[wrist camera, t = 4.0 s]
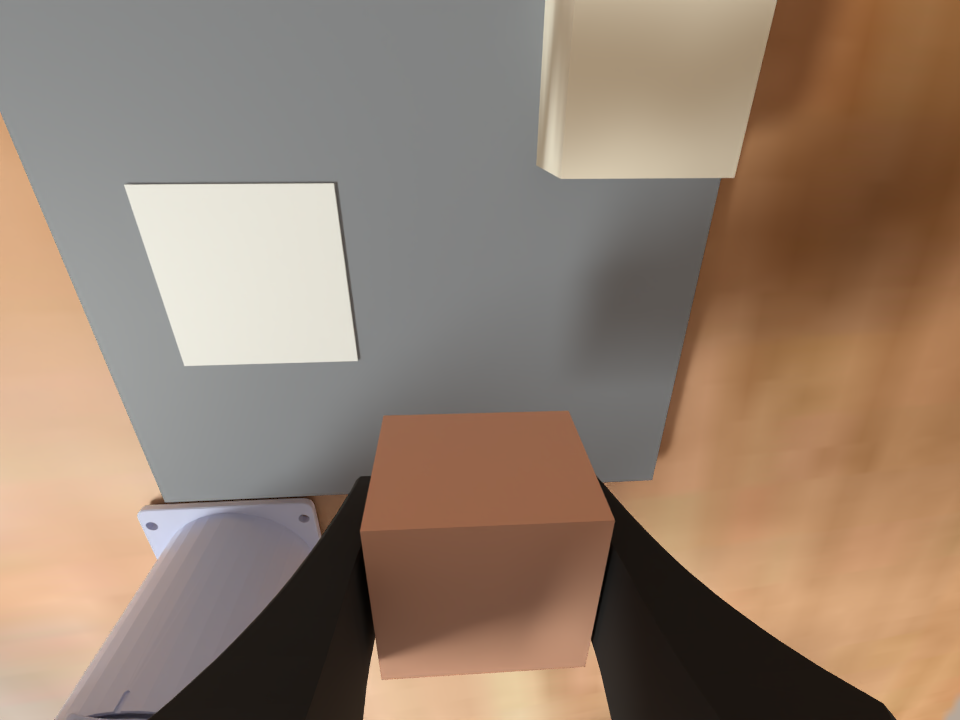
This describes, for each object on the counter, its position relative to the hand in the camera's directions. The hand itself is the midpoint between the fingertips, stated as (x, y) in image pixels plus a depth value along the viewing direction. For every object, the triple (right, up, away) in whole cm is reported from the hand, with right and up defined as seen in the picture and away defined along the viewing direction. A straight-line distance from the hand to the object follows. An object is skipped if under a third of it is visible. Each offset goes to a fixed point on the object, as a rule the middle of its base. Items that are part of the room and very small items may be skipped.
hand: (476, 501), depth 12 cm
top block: (+4, +12, +2) cm, 13 cm away
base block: (0, 0, 0) cm, 1 cm away
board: (-3, +7, +5) cm, 9 cm away
